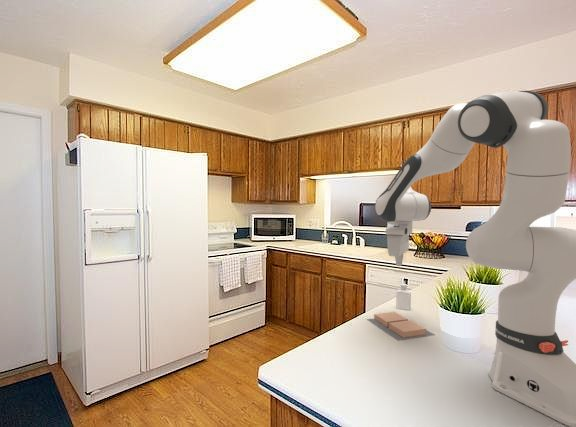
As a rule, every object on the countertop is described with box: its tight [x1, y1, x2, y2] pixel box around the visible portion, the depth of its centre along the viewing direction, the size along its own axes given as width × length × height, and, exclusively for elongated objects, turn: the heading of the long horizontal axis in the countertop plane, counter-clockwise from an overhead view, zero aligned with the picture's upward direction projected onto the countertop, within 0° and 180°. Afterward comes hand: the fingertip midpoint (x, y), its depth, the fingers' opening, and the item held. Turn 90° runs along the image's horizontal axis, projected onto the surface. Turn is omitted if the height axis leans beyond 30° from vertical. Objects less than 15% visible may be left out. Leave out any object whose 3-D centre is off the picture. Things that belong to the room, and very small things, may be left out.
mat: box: [366, 318, 436, 342], centre depth 109 cm, size 19×15×1 cm
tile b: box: [373, 311, 409, 327], centre depth 113 cm, size 8×2×9 cm
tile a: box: [389, 319, 427, 338], centre depth 104 cm, size 8×2×9 cm
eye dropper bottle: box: [395, 280, 412, 311], centre depth 128 cm, size 4×6×12 cm
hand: (399, 265), depth 113 cm, fingers closed
